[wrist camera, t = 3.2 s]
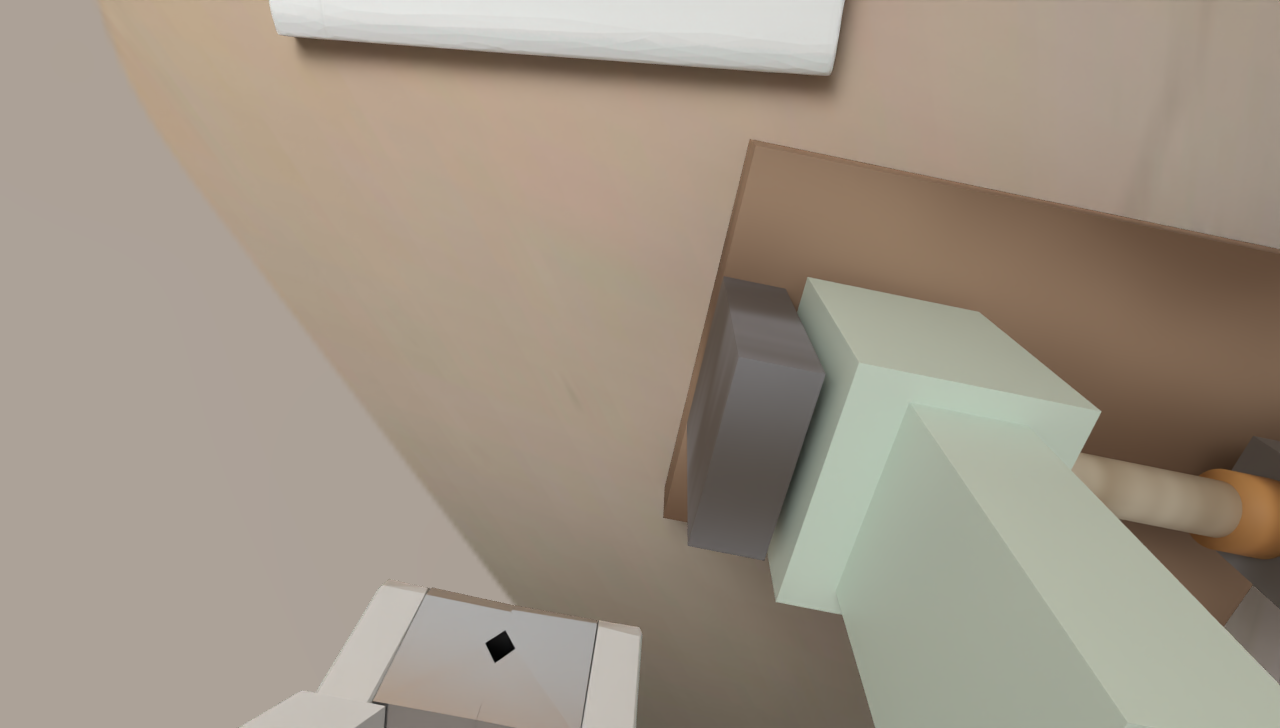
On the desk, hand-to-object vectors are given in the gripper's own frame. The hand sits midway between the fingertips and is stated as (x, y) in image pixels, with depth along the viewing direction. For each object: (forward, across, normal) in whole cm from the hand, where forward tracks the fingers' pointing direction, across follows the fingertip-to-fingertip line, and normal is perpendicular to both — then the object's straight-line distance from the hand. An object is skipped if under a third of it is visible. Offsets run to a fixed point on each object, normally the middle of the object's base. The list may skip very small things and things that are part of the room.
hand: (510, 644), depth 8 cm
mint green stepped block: (+9, -6, 0) cm, 11 cm away
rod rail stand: (+11, -10, 0) cm, 15 cm away
